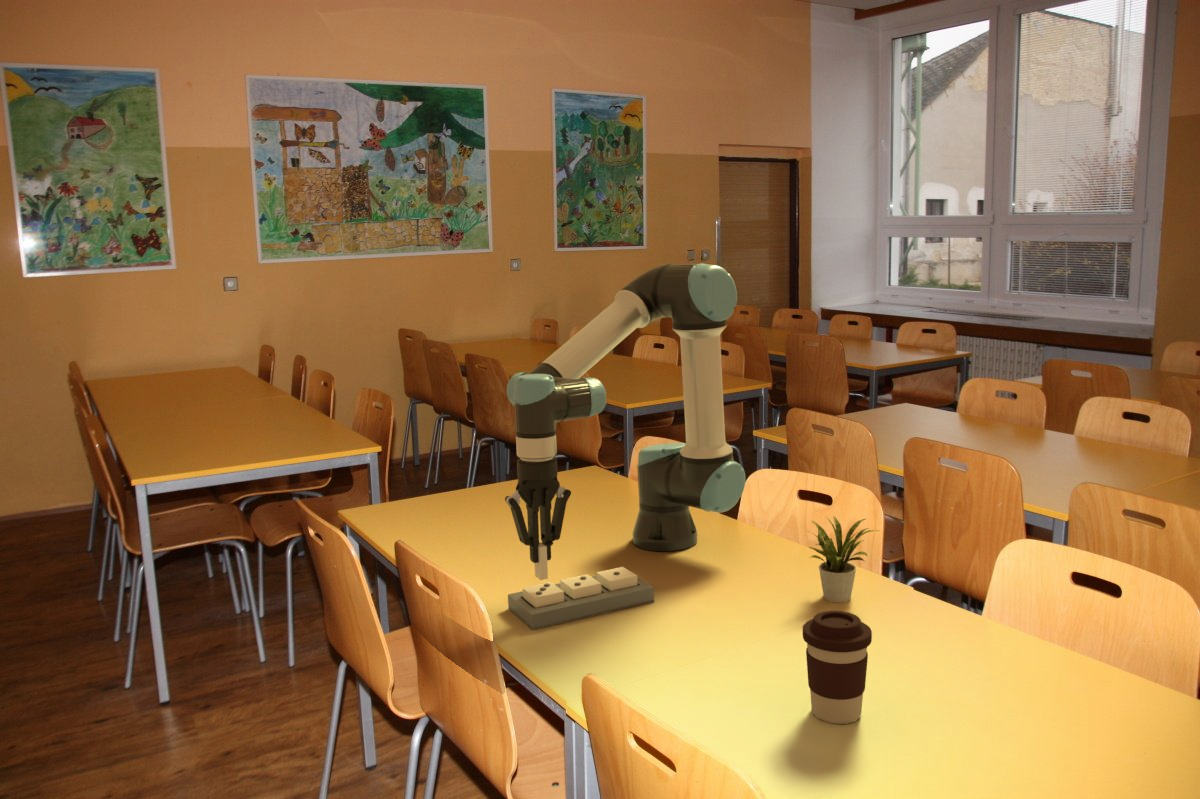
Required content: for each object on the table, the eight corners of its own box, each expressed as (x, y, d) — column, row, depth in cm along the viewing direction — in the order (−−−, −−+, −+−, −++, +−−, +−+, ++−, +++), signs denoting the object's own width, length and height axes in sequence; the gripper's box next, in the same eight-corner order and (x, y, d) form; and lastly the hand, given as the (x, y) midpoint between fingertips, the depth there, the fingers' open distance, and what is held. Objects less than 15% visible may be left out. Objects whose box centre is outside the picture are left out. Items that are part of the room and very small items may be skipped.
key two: (587, 583, 195) (587, 573, 194) (601, 593, 189) (601, 582, 189) (560, 589, 192) (560, 578, 192) (573, 599, 187) (573, 588, 186)
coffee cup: (794, 700, 150) (794, 608, 148) (857, 695, 151) (858, 603, 149) (813, 732, 141) (814, 634, 138) (880, 727, 141) (882, 629, 139)
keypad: (625, 583, 202) (624, 569, 202) (654, 601, 192) (653, 587, 191) (508, 608, 191) (507, 594, 190) (532, 630, 180) (531, 614, 180)
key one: (623, 576, 198) (622, 565, 198) (637, 585, 193) (637, 574, 193) (596, 581, 196) (596, 571, 195) (610, 591, 190) (610, 580, 190)
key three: (551, 591, 191) (550, 580, 191) (564, 601, 186) (563, 590, 185) (523, 597, 188) (522, 586, 188) (535, 607, 183) (534, 596, 183)
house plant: (887, 589, 194) (888, 510, 191) (875, 614, 182) (876, 530, 179) (815, 580, 200) (815, 504, 197) (799, 605, 188) (799, 523, 185)
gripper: (560, 449, 189) (564, 565, 192) (497, 457, 183) (502, 577, 187) (576, 456, 182) (580, 577, 186) (511, 465, 176) (517, 589, 180)
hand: (541, 577), depth 186 cm, fingers closed
